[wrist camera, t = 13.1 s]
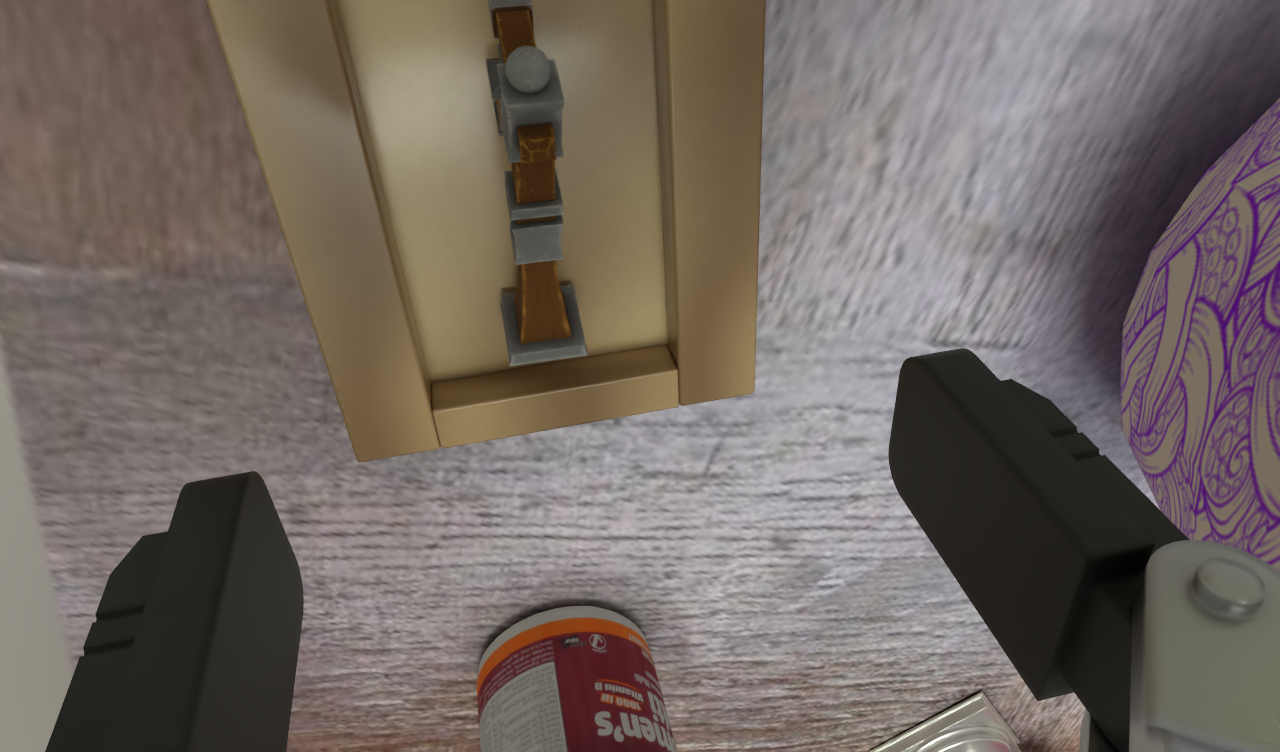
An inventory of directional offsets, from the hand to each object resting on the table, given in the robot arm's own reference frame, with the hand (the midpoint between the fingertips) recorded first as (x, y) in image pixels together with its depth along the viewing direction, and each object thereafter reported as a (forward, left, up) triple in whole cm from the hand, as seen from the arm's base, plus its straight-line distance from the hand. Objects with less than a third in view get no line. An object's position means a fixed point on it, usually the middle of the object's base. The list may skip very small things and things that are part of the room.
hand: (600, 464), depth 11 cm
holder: (0, 0, -11) cm, 11 cm away
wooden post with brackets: (0, 0, -10) cm, 10 cm away
